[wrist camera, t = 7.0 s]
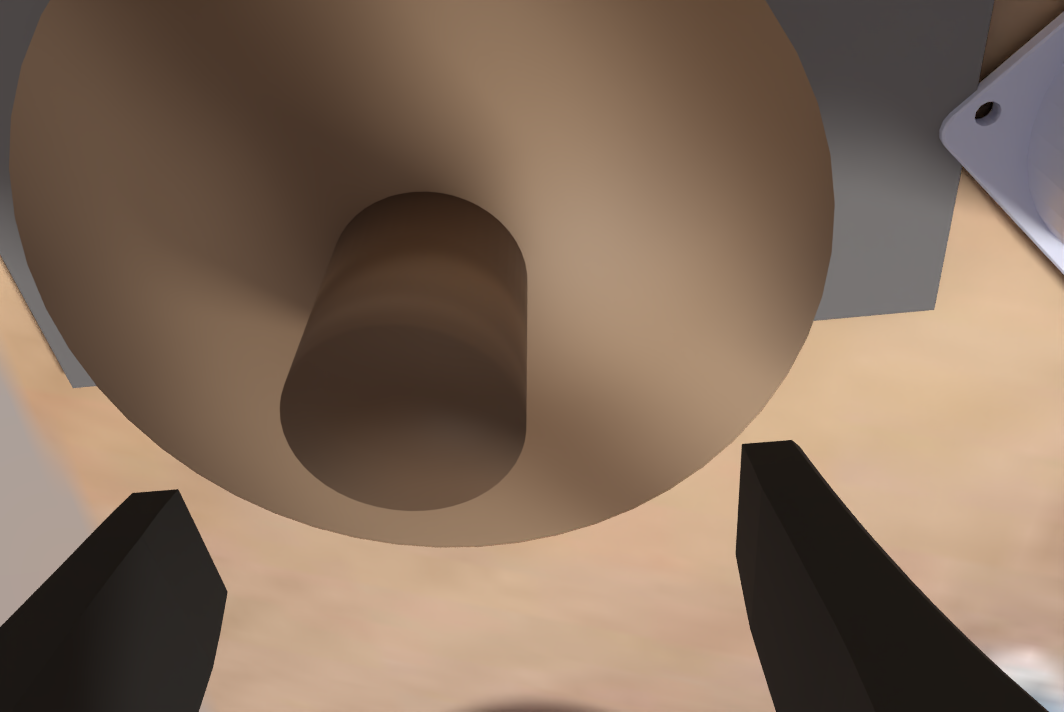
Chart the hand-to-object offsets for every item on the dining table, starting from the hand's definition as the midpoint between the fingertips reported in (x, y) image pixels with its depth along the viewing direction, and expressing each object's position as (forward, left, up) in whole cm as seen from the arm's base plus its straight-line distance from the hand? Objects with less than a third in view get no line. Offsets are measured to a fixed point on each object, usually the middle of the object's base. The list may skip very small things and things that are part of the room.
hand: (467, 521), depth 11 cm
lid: (0, -1, -5) cm, 5 cm away
